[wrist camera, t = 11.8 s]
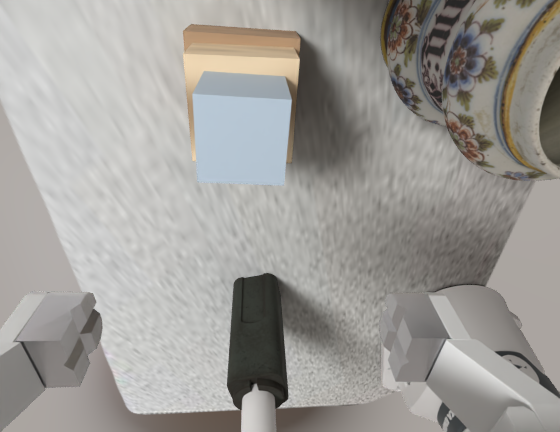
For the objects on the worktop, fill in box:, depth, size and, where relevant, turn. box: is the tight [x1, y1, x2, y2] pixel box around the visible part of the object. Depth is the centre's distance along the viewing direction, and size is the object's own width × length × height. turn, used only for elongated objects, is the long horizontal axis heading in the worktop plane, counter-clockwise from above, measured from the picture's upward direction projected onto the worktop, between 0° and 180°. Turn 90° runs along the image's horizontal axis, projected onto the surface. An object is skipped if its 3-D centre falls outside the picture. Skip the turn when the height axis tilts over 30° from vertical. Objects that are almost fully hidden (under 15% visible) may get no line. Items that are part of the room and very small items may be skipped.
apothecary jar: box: [380, 0, 560, 181], centre depth 21 cm, size 12×12×18 cm
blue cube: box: [192, 71, 292, 185], centre depth 22 cm, size 5×5×5 cm
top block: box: [183, 43, 300, 163], centre depth 26 cm, size 7×7×4 cm
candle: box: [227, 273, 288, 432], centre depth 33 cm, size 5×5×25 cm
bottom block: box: [183, 24, 301, 57], centre depth 29 cm, size 8×8×4 cm
